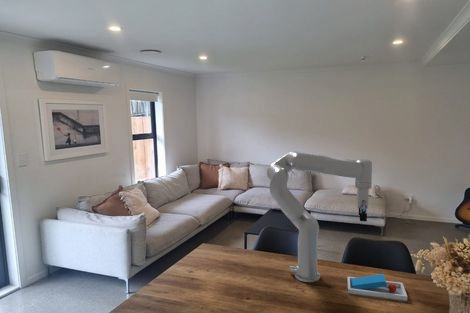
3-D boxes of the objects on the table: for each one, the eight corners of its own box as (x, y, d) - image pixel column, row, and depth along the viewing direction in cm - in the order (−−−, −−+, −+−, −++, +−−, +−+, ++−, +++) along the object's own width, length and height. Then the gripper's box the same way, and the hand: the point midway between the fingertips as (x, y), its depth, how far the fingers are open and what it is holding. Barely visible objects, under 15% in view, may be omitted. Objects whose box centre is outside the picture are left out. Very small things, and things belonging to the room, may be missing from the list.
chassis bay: (348, 294, 149) (348, 289, 149) (347, 281, 160) (347, 276, 160) (407, 301, 142) (407, 296, 141) (402, 287, 153) (402, 282, 153)
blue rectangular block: (356, 300, 151) (398, 295, 145) (352, 285, 151) (394, 279, 145) (355, 292, 157) (396, 287, 152) (351, 278, 157) (392, 272, 151)
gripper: (354, 180, 173) (353, 212, 175) (356, 188, 157) (355, 223, 159) (369, 181, 171) (369, 213, 173) (373, 188, 154) (372, 224, 157)
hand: (362, 218), depth 166 cm, fingers open, 9 cm apart
